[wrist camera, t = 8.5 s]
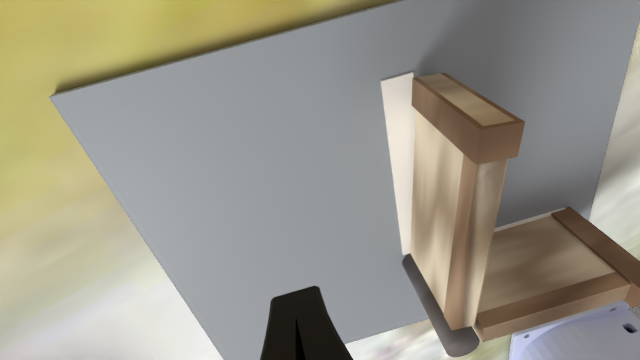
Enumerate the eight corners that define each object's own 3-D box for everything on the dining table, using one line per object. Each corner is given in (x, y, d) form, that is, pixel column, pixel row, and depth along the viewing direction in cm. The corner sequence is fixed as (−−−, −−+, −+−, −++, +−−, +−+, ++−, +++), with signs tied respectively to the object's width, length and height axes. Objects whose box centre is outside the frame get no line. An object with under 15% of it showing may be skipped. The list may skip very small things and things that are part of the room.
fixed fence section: (569, 204, 21) (665, 279, 17) (565, 225, 22) (655, 301, 17) (400, 254, 21) (448, 345, 16) (403, 273, 22) (448, 364, 17)
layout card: (652, -70, 14) (664, -70, 14) (570, 270, 26) (575, 276, 25) (53, 93, 14) (47, 98, 13) (235, 371, 25) (235, 378, 24)
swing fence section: (430, 248, 21) (480, 328, 16) (406, 253, 21) (450, 335, 16) (444, 72, 15) (525, 121, 11) (412, 77, 15) (480, 130, 11)
